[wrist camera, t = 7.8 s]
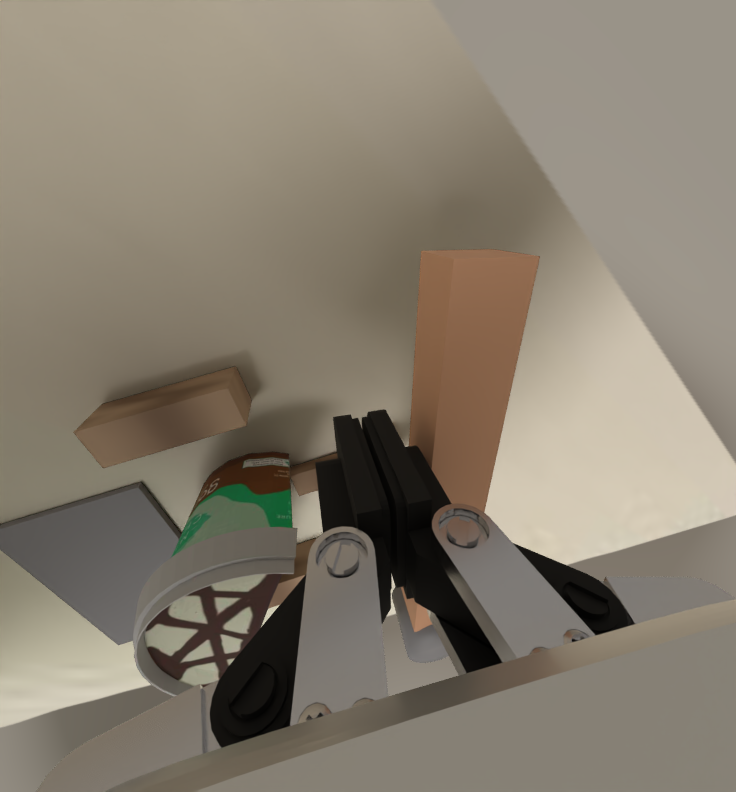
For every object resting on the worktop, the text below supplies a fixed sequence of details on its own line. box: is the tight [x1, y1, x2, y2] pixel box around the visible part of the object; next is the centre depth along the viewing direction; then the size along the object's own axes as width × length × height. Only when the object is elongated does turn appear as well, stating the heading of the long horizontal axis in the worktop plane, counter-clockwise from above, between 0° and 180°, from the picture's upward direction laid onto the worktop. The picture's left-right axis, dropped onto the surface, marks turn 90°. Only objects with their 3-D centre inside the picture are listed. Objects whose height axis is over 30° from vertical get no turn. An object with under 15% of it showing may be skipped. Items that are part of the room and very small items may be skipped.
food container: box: [133, 452, 297, 696], centre depth 20 cm, size 12×6×10 cm, turn 157°
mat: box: [0, 482, 181, 645], centre depth 26 cm, size 10×15×1 cm, turn 12°
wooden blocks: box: [73, 366, 338, 608], centre depth 20 cm, size 16×19×10 cm
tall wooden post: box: [392, 249, 540, 663], centre depth 12 cm, size 16×3×2 cm, turn 0°
